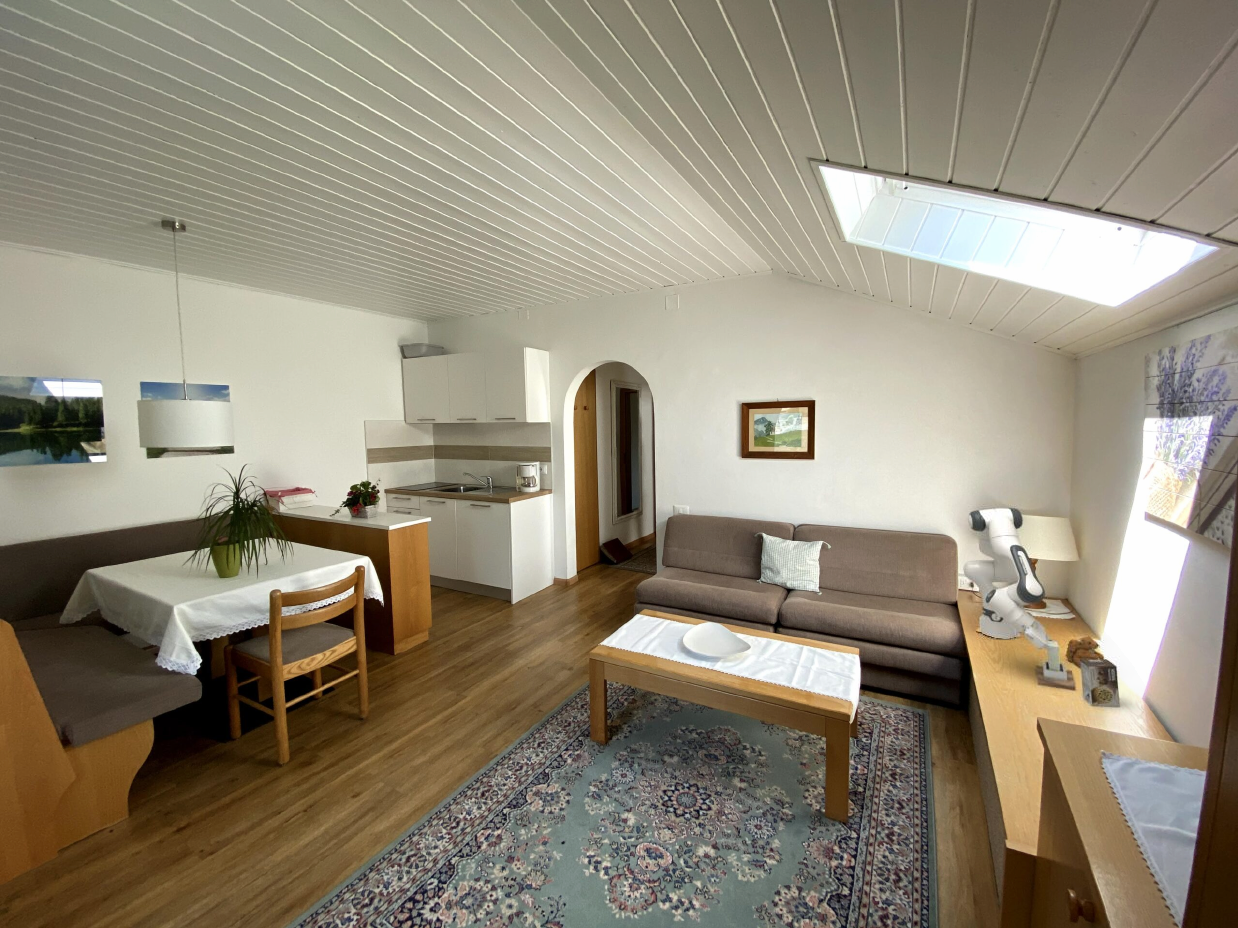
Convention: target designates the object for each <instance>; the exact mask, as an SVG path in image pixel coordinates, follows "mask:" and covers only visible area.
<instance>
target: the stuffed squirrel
mask: <svg viewBox="0 0 1238 928" xmlns="http://www.w3.org/2000/svg"><path fill="white" fill-rule="evenodd" d="M1099 647H1100V644H1099V643H1098V642H1097V641H1096V640H1094V639H1093V638H1092V637H1091V636H1090V635H1088V636H1085V637H1079V638H1078V639H1073V638H1072V639H1070V640H1069V641H1068V643H1067V649H1066V653H1065V656H1064V657H1066V659H1067V660H1068V661H1069V662H1070V663H1071V664H1075V665H1076V666H1077V667H1078V668H1079V669H1081V665H1080V659H1105V657H1104V654H1102V653H1100V652H1098V651H1096V650H1097V649H1098V648H1099Z"/></svg>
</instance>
